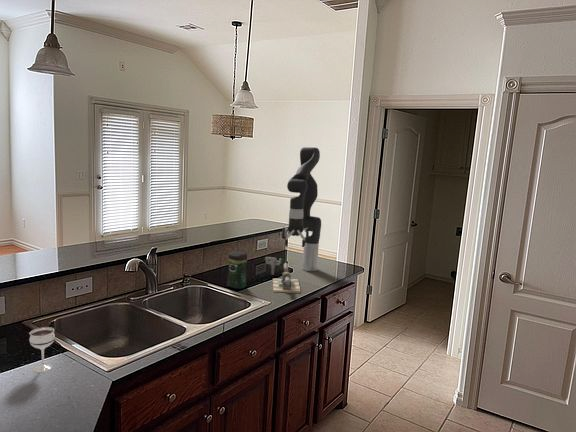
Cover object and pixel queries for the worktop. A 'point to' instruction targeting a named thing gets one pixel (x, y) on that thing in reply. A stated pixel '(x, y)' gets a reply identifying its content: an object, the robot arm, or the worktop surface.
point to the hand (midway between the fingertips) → (294, 246)
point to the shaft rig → (286, 283)
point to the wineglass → (42, 344)
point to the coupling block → (286, 275)
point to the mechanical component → (272, 262)
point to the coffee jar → (237, 270)
